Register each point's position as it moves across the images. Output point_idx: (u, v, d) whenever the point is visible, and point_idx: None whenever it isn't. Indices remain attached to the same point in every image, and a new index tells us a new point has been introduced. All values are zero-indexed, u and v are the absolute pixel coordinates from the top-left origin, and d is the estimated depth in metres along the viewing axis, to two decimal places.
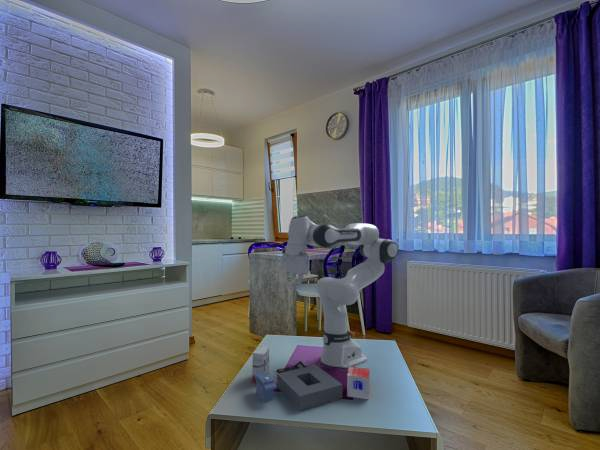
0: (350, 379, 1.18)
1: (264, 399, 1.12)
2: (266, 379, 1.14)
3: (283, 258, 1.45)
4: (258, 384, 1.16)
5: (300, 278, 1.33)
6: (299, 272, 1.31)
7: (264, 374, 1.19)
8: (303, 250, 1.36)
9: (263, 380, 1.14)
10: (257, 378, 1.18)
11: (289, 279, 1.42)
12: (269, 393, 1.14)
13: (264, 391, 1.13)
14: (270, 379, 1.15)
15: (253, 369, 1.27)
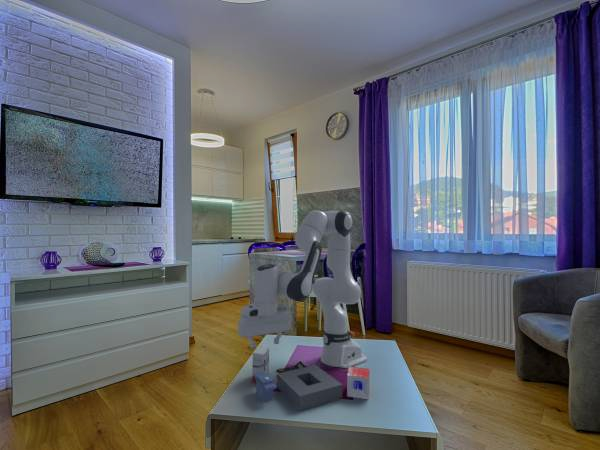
0: (350, 379, 1.18)
1: (264, 399, 1.12)
2: (266, 379, 1.14)
3: (247, 322, 1.11)
4: (258, 384, 1.16)
5: None
6: (285, 329, 1.19)
7: (264, 374, 1.19)
8: None
9: (263, 380, 1.14)
10: (257, 378, 1.18)
11: None
12: (269, 393, 1.14)
13: (264, 391, 1.13)
14: (270, 379, 1.15)
15: (253, 369, 1.27)
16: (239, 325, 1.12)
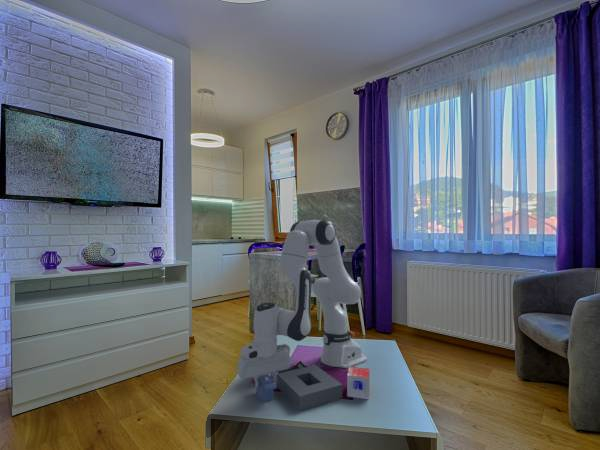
0: (350, 379, 1.18)
1: (264, 399, 1.12)
2: (266, 379, 1.14)
3: (246, 364, 1.11)
4: None
5: None
6: (285, 368, 1.19)
7: (264, 374, 1.19)
8: None
9: (263, 380, 1.14)
10: None
11: None
12: (269, 393, 1.14)
13: (264, 391, 1.13)
14: (270, 379, 1.15)
15: None
16: (239, 366, 1.12)
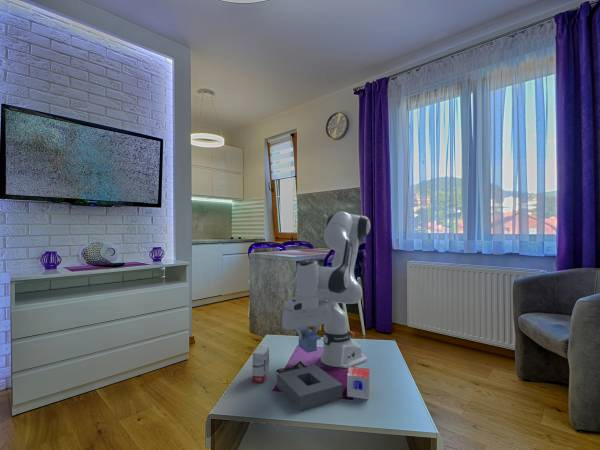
0: (350, 379, 1.18)
1: (308, 350, 1.16)
2: (309, 331, 1.18)
3: (291, 316, 1.15)
4: None
5: None
6: (326, 322, 1.22)
7: (306, 328, 1.22)
8: None
9: (306, 332, 1.18)
10: (300, 331, 1.21)
11: None
12: (313, 344, 1.17)
13: (308, 342, 1.16)
14: (313, 331, 1.19)
15: (253, 369, 1.27)
16: (283, 318, 1.16)
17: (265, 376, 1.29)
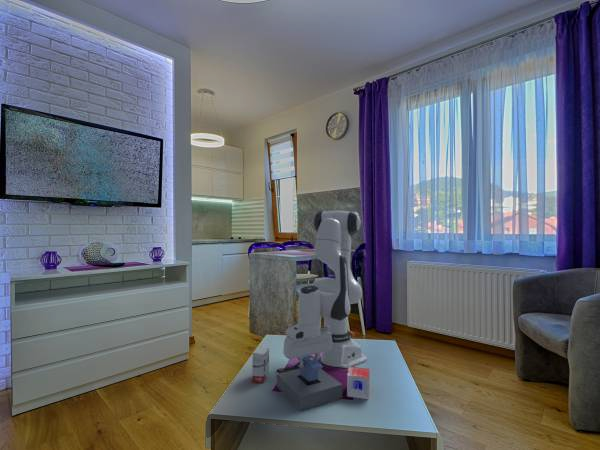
0: (350, 379, 1.18)
1: (310, 378, 1.16)
2: (311, 359, 1.18)
3: (293, 344, 1.14)
4: None
5: None
6: (328, 349, 1.22)
7: (307, 355, 1.22)
8: None
9: (308, 360, 1.17)
10: None
11: None
12: (314, 373, 1.17)
13: (310, 371, 1.16)
14: (314, 359, 1.18)
15: (253, 369, 1.27)
16: (285, 347, 1.16)
17: (265, 376, 1.29)
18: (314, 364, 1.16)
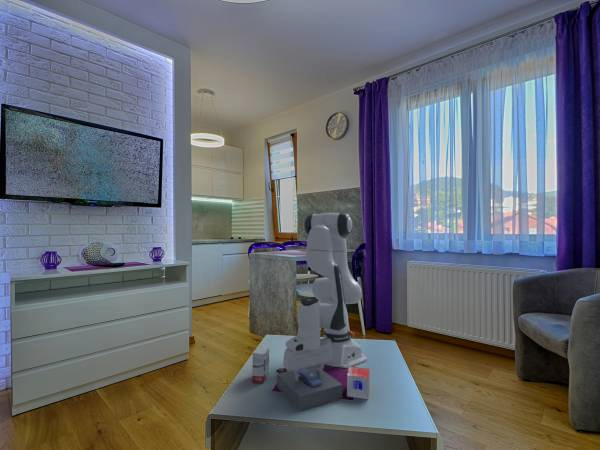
0: (350, 379, 1.18)
1: None
2: (311, 375, 1.17)
3: (293, 357, 1.14)
4: (302, 380, 1.20)
5: None
6: (328, 361, 1.22)
7: (307, 371, 1.22)
8: None
9: (307, 376, 1.17)
10: (301, 374, 1.21)
11: None
12: None
13: None
14: (314, 375, 1.18)
15: (253, 369, 1.27)
16: (285, 359, 1.16)
17: (265, 376, 1.29)
18: (314, 380, 1.16)
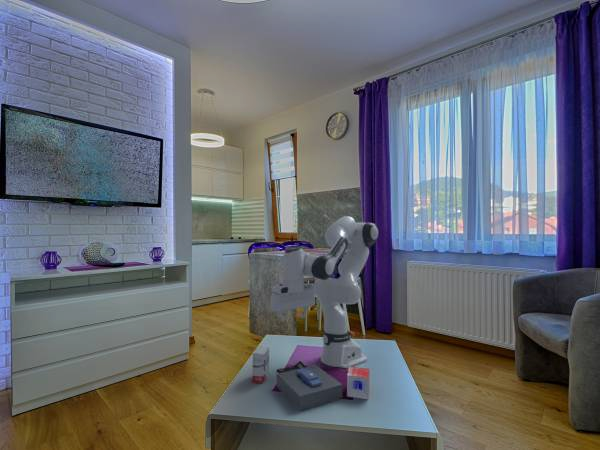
0: (350, 379, 1.18)
1: None
2: (311, 375, 1.17)
3: (278, 299, 1.25)
4: (302, 380, 1.20)
5: None
6: (311, 305, 1.33)
7: (307, 371, 1.22)
8: None
9: (307, 376, 1.17)
10: (301, 374, 1.21)
11: None
12: None
13: None
14: (314, 375, 1.18)
15: (253, 369, 1.27)
16: (271, 301, 1.26)
17: (265, 376, 1.29)
18: (314, 380, 1.16)
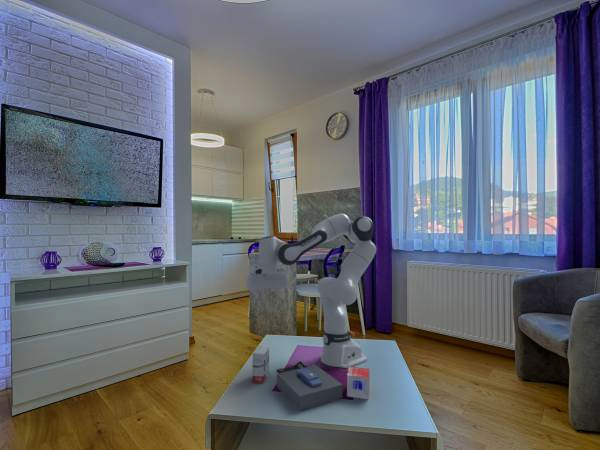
0: (350, 379, 1.18)
1: None
2: (311, 375, 1.17)
3: (253, 279, 1.46)
4: (302, 380, 1.20)
5: None
6: (283, 286, 1.54)
7: (307, 371, 1.22)
8: None
9: (307, 376, 1.17)
10: (301, 374, 1.21)
11: None
12: None
13: None
14: (314, 375, 1.18)
15: (253, 369, 1.27)
16: (247, 281, 1.47)
17: (265, 376, 1.29)
18: (314, 380, 1.16)
